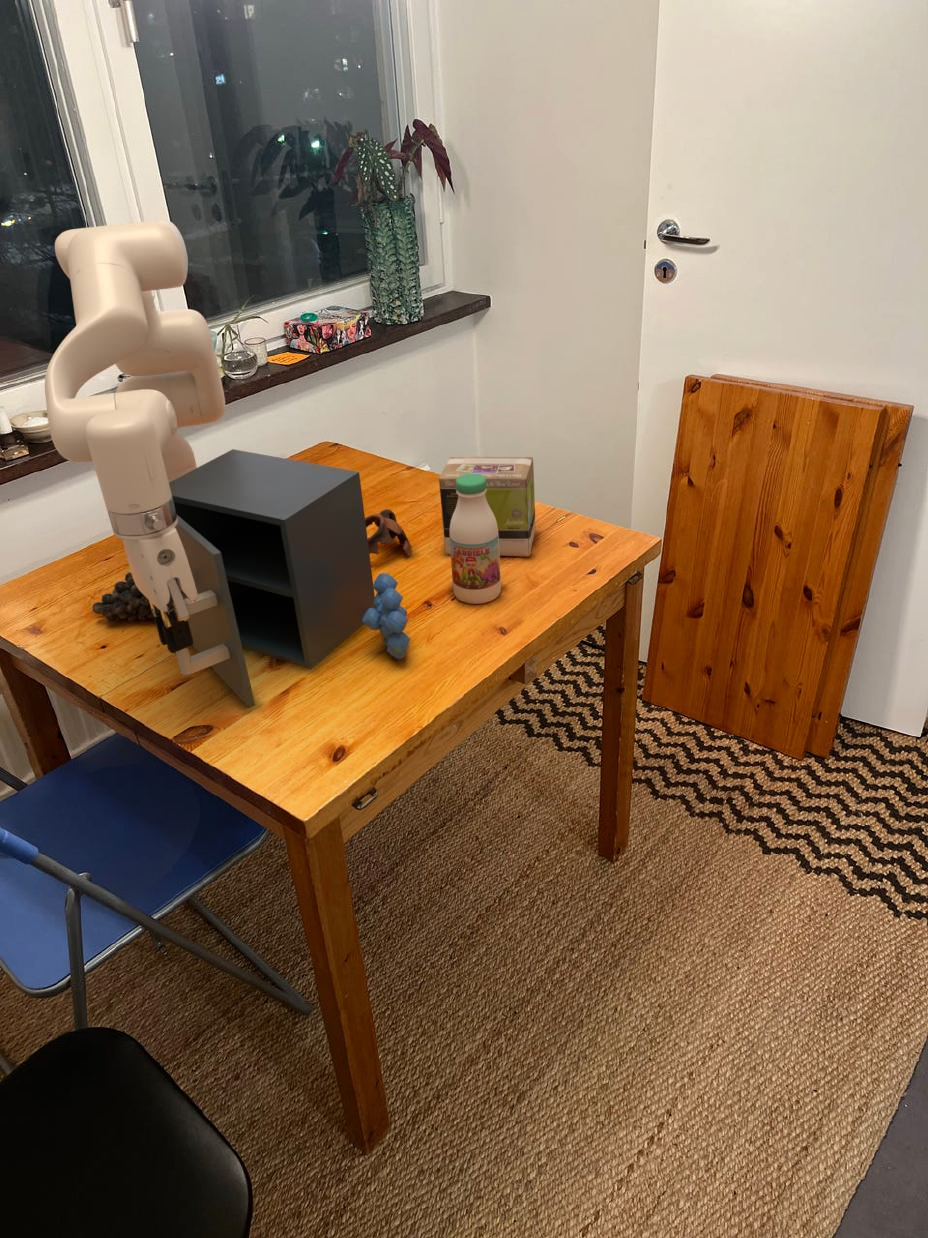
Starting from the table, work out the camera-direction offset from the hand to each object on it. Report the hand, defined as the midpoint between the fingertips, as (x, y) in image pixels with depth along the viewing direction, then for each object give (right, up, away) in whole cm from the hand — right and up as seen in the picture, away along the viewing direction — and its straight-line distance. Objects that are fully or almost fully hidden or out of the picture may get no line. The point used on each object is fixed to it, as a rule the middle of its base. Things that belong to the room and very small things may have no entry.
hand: (177, 643), depth 118 cm
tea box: (+42, +16, +44) cm, 63 cm away
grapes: (+26, -2, +17) cm, 31 cm away
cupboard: (+9, +3, +25) cm, 27 cm away
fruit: (-14, +4, +30) cm, 33 cm away
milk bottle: (+39, +7, +30) cm, 50 cm away
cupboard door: (-2, -5, +14) cm, 15 cm away
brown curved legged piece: (+23, +15, +44) cm, 52 cm away
